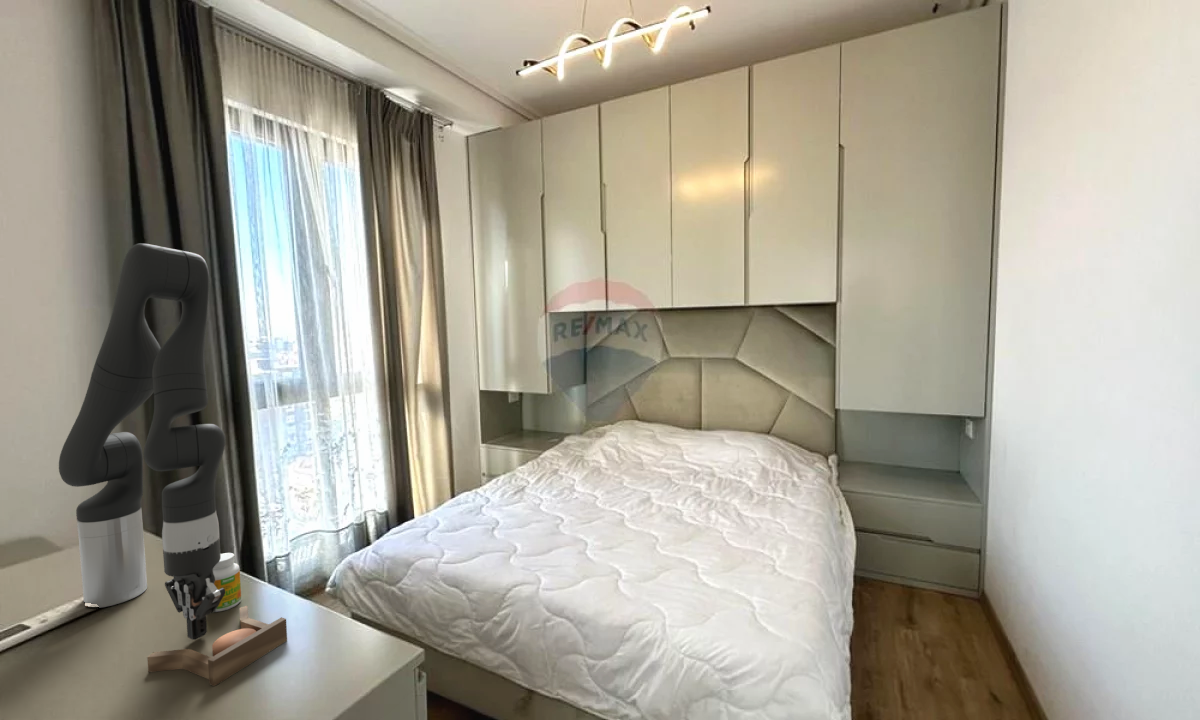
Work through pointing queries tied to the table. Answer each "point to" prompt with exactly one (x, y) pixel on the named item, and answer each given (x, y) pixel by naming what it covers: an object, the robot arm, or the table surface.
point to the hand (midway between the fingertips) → (197, 636)
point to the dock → (224, 652)
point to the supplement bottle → (227, 581)
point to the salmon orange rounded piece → (230, 639)
